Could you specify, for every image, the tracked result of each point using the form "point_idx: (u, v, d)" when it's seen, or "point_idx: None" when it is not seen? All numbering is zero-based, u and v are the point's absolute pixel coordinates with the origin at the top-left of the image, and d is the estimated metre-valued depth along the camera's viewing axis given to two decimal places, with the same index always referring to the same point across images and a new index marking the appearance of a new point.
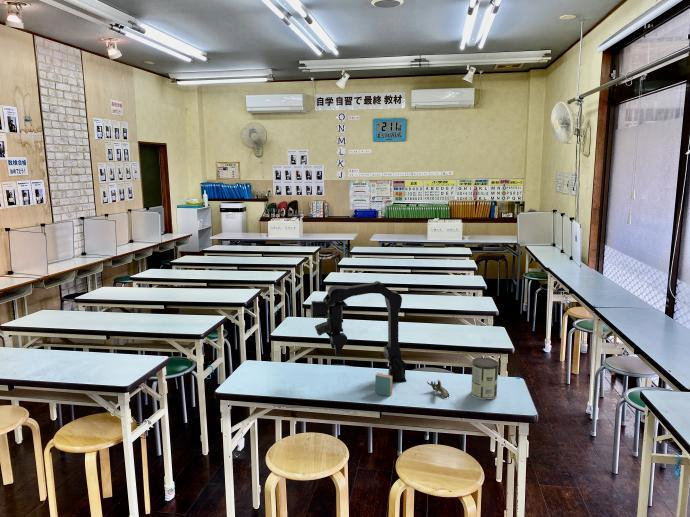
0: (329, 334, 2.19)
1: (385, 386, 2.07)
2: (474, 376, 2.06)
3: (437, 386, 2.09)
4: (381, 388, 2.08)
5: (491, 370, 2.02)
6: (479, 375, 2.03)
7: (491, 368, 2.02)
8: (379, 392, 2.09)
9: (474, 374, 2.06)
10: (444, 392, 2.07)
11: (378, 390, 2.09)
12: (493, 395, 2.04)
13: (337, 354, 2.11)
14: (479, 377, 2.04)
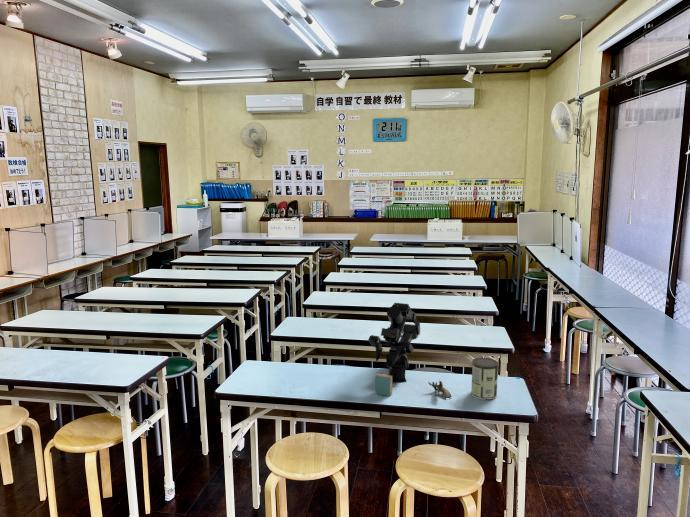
0: (379, 345, 2.14)
1: (385, 386, 2.07)
2: (474, 376, 2.06)
3: (439, 387, 2.09)
4: (381, 388, 2.08)
5: (491, 370, 2.02)
6: (479, 375, 2.03)
7: (491, 368, 2.02)
8: (379, 392, 2.09)
9: (474, 374, 2.06)
10: (446, 393, 2.06)
11: (378, 390, 2.09)
12: (493, 395, 2.04)
13: (393, 362, 2.09)
14: (479, 377, 2.04)
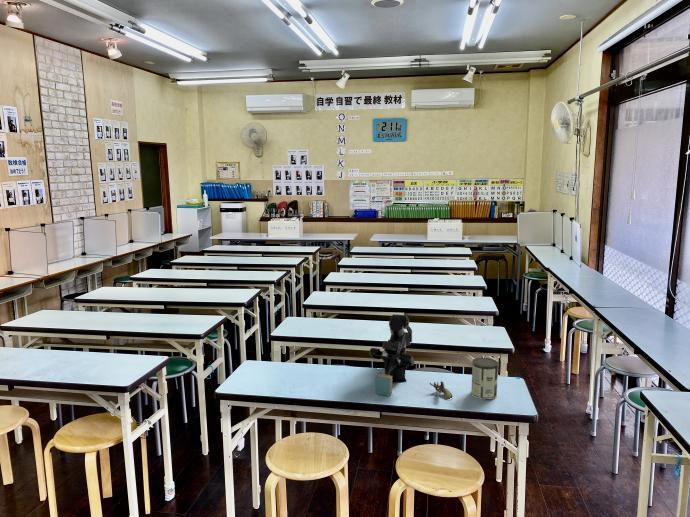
0: (387, 359, 2.13)
1: (385, 386, 2.07)
2: (474, 376, 2.06)
3: (440, 387, 2.08)
4: (381, 388, 2.08)
5: (491, 370, 2.02)
6: (479, 375, 2.03)
7: (491, 368, 2.02)
8: (379, 392, 2.09)
9: (474, 374, 2.06)
10: (447, 393, 2.06)
11: (378, 390, 2.09)
12: (493, 395, 2.04)
13: (387, 373, 2.11)
14: (479, 377, 2.04)
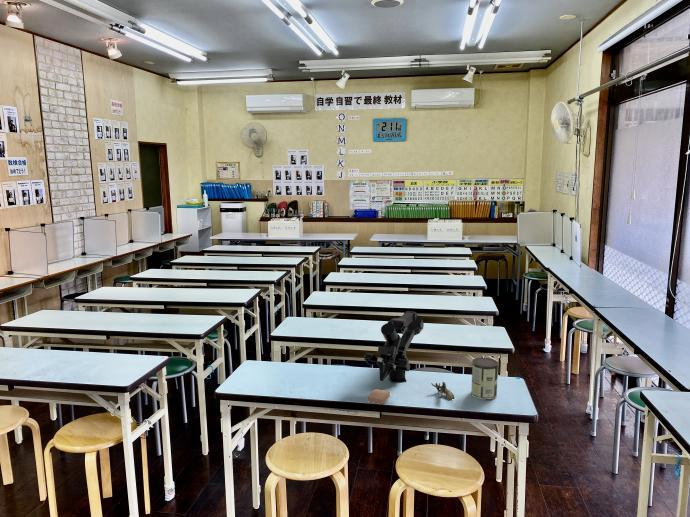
0: (382, 365, 2.08)
1: None
2: (474, 376, 2.06)
3: (442, 388, 2.07)
4: None
5: (491, 370, 2.02)
6: (479, 375, 2.03)
7: (491, 368, 2.02)
8: None
9: (474, 374, 2.06)
10: (449, 394, 2.05)
11: None
12: (493, 395, 2.04)
13: (383, 379, 2.06)
14: (479, 377, 2.04)
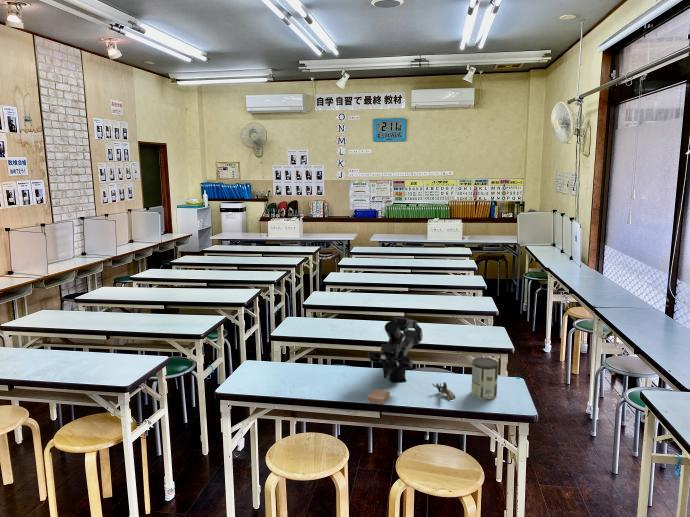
0: (386, 362, 2.12)
1: None
2: (474, 376, 2.06)
3: (443, 388, 2.07)
4: None
5: (491, 370, 2.02)
6: (479, 375, 2.03)
7: (491, 368, 2.02)
8: None
9: (474, 374, 2.06)
10: (450, 394, 2.05)
11: None
12: (493, 395, 2.04)
13: (386, 376, 2.10)
14: (479, 377, 2.04)
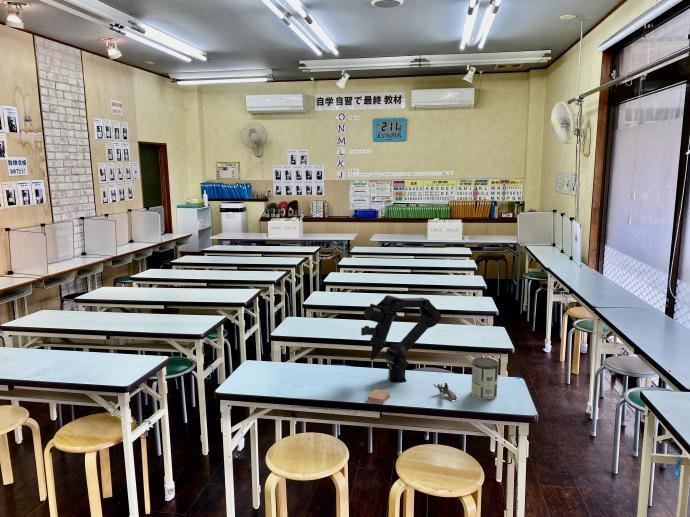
0: None
1: None
2: (474, 376, 2.06)
3: (444, 389, 2.07)
4: None
5: (491, 370, 2.02)
6: (479, 375, 2.03)
7: (491, 368, 2.02)
8: None
9: (474, 374, 2.06)
10: (451, 395, 2.05)
11: None
12: (493, 395, 2.04)
13: (371, 358, 2.14)
14: (479, 377, 2.04)
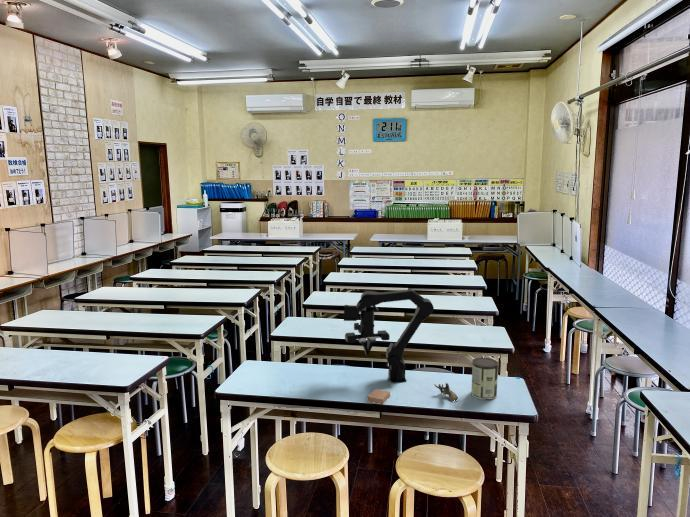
0: (367, 340, 2.23)
1: None
2: (474, 376, 2.06)
3: (445, 389, 2.06)
4: None
5: (491, 370, 2.02)
6: (479, 375, 2.03)
7: (491, 368, 2.02)
8: None
9: (474, 374, 2.06)
10: (452, 395, 2.04)
11: None
12: (493, 395, 2.04)
13: (365, 353, 2.22)
14: (479, 377, 2.04)
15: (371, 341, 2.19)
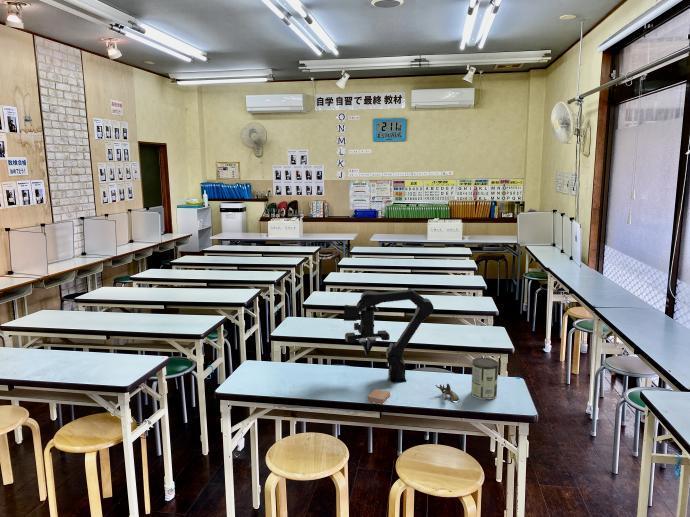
0: (367, 340, 2.23)
1: None
2: (474, 376, 2.06)
3: (446, 389, 2.06)
4: None
5: (491, 370, 2.02)
6: (479, 375, 2.03)
7: (491, 368, 2.02)
8: None
9: (474, 374, 2.06)
10: (453, 396, 2.04)
11: None
12: (493, 395, 2.04)
13: (365, 353, 2.22)
14: (479, 377, 2.04)
15: (371, 341, 2.19)
